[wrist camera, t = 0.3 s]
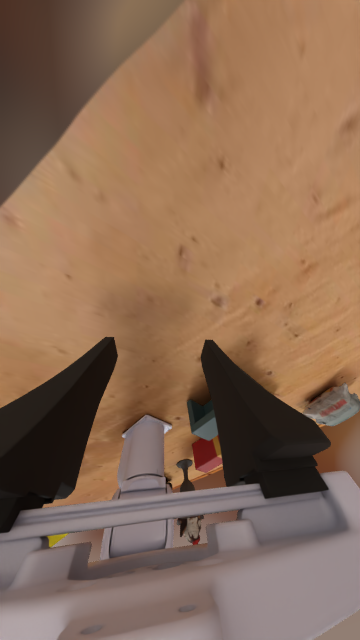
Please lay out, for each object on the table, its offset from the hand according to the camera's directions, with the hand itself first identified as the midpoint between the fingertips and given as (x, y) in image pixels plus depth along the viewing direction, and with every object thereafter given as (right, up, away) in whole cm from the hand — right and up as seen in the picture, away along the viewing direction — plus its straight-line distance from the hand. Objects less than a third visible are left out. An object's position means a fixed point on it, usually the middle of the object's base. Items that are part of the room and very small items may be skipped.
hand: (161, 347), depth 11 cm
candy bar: (+10, -31, +26) cm, 42 cm away
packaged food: (+38, -18, +24) cm, 48 cm away
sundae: (+3, -43, +31) cm, 53 cm away
